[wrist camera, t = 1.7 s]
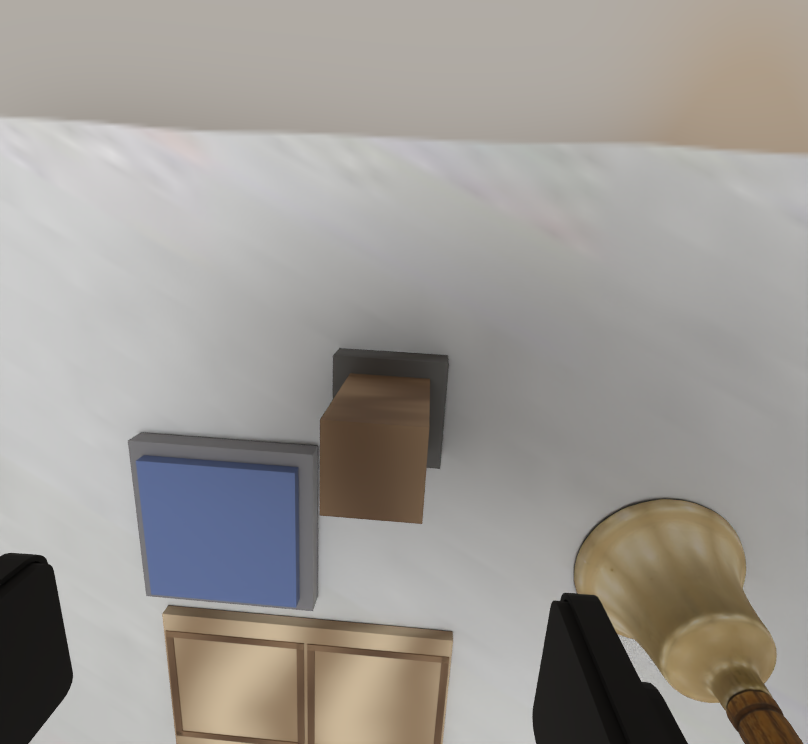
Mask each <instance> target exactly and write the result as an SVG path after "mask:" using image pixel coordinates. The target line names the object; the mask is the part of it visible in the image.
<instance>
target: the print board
mask: <svg viewBox="0 0 808 744" xmlns="http://www.w3.org/2000/svg"><path fill="white" fill-rule="evenodd" d="M162 616H163V625H164V634H165V643H166V652H167V661H168V671H169V680H170V689H171V698H172V707H173V716H174V726H175V735H176V744H442V742H443V732H444V722H445V713H446V703H447V693H448V684H449V674H450V664H451V655H452V645H453V633H452V632H451V631H440V630H429V629H418V628H407V627H396V626H385V625H374V624H364V623H353V622H342V621H331V620H320V619H309V618H298V617H287V616H276V615H266V614H255V613H244V612H233V611H222V610H211V609H200V608H189V607H178V606H168V607H167V608H166V610H165V611H164V612H163V614H162Z"/></svg>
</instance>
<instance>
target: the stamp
mask: <svg viewBox="0 0 808 744" xmlns="http://www.w3.org/2000/svg"><path fill="white" fill-rule="evenodd" d="M448 367H449V361H448V355H434V354H419V353H404V352H389V351H374V350H359V349H343V348H340V349H339V350H338V351H337V352H336V353H335V354H334V355H333V400H332V402H331V403H330V405H329V407H328V408H327V410H326V411H325V413H324V414H323V416H322V417H321V419H320V515H321V516H333V517H345V518H357V519H369V520H381V521H394V522H406V523H418V524H422V519H423V506H424V492H425V479H426V468H437V469H440V463H441V451H442V439H443V427H444V415H445V403H446V391H447V379H448Z"/></svg>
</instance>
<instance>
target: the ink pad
mask: <svg viewBox="0 0 808 744" xmlns="http://www.w3.org/2000/svg"><path fill="white" fill-rule="evenodd" d="M128 445H129V454H130V462H131V471H132V479H133V487H134V496H135V504H136V513H137V521H138V529H139V538H140V546H141V555H142V563H143V572H144V580H145V588H146V596H153V597H164V598H175V599H186V600H197V601H208V602H219V603H230V604H241V605H252V606H263V607H274V608H285V609H296V610H307V611H313V609H314V606H315V603H316V600H317V595H318V446H312V445H299V444H286V443H272V442H259V441H246V440H233V439H219V438H206V437H193V436H180V435H166V434H153V433H139V434H138V435H136V436H135V437H133V438H132V439H130V440H128Z"/></svg>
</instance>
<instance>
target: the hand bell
mask: <svg viewBox="0 0 808 744" xmlns="http://www.w3.org/2000/svg"><path fill="white" fill-rule="evenodd" d="M745 575H746V561H745V555H744V551H743V547H742V544H741V542H740V539H739V537H738V535H737V534H736V532H735V530H734V529H733V528H732V527H731V525H730V524H729V523H728V522H727V521H726V520H725V519H724V518H722V517H721V516H720V515H718V514H717V513H715V512H714V511H712V510H710V509H708V508H705V507H703V506H701V505H698V504H696V503H691V502H687V501H682V500H671V499H660V500H654V501H648V502H643V503H639V504H636V505H633V506H629V507H627V508H624V509H622V510H620V511H619V512H617V513H615V514H613V515H611V516H610V517H608V518H607V519H606V520H604V521H603V522H602V523H600V524H599V525H598V526H597V527H596V528H595V529H594V530H593V531H592V532H591V533H590V535H589V536H588V537H587V539H586V540H585V541H584V543H583V545H582V547H581V548H580V550H579V554H578V556H577V558H576V563H575V569H574V582H575V587H576V591H577V594H588V595H596V596H597V597H598V598H599V599H600V601H601V603H602V605H603V607H604V609H605V611H606V613H607V615H608V617H609V619H610V621H611V623H612V625H613V627H614V629H615V631H616V633H617V634H620V635H622V636H625V637H628V638H632V639H635V640H636V641H637V642H638V643H639V644H640V646H641V647H642V648H643V649H644V650H645V651H646V653H647V654H648V655H649V656H650V658H651V659H652V660H653V662H654V663H655V665H656V666H657V668H658V669H659V670H660V672H661V673H662V675H663V676H664V678H665V679H666V680H667V682H668V683H669V684H670V685H671V686H672V687H673V688H674V689H675V690H677V691H678V692H680V693H681V694H683V695H685V696H687V697H689V698H692V699H694V700H697V701H702V702H708V703H721V705H722V707H723V708H724V709H725V710H726V713H727V716H728V718H729V720H730V722H731V723H732V725H733V726H734V728H735V729H736V730H737V731H738V732H739V734H740V736H741V738H742V740H743V741H744V743H745V744H803V742H802V741H801V739H800V738H799V736H798V735H797V733H796V732H795V730H794V729H793V727H792V726H791V724H790V723H789V722H788V720H787V719H786V718H785V717H784V715H783V713H782V711H781V709H780V708H779V706H778V704H777V703H776V701H775V700H774V699H773V698H772V696H771V694H770V692H769V691H768V689H767V688H766V686H765V685H764V683H765V682H766V681H767V680H768V678H769V677H770V675H771V674H772V672H773V670H774V667H775V664H776V656H777V653H776V646H775V643H774V641H773V638H772V636H771V634H770V632H769V631H768V630H767V628H766V627H765V625H764V624H763V623H762V621H761V620H760V618H759V617H758V615H757V614H756V612H755V611H754V609H753V608H752V606H751V604H750V603H749V601H748V599H747V597H746V595H745V593H744V591H743V584H744V581H745Z"/></svg>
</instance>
